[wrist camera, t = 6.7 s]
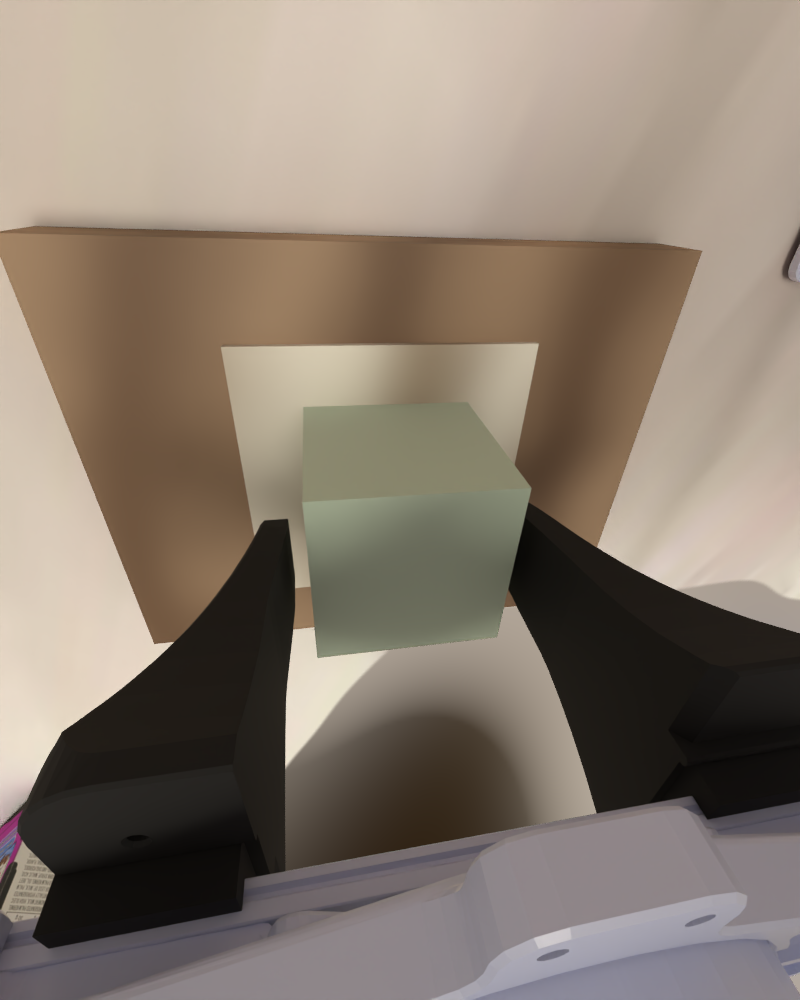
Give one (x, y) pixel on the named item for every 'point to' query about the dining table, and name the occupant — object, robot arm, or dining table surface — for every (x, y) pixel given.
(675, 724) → the robot arm
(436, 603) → the sage cube
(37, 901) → the candy bar box
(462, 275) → the base board
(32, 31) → the dining table surface
